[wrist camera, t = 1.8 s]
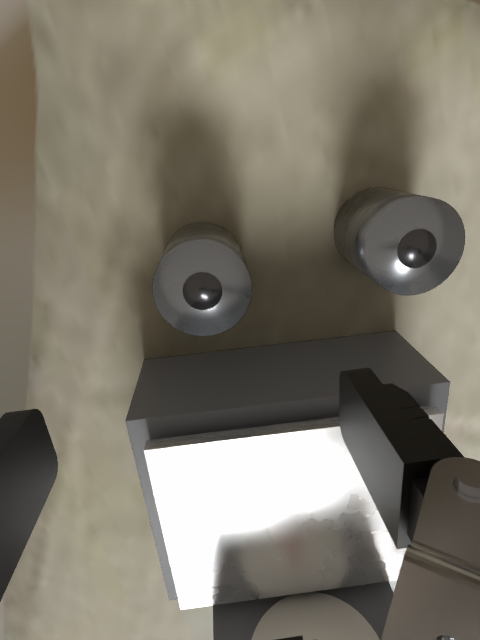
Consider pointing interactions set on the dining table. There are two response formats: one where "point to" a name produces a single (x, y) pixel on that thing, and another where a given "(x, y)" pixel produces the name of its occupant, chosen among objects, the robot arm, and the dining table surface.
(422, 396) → the scale
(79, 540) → the dining table surface
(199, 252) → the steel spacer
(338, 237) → the cylinder
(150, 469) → the scale pan
